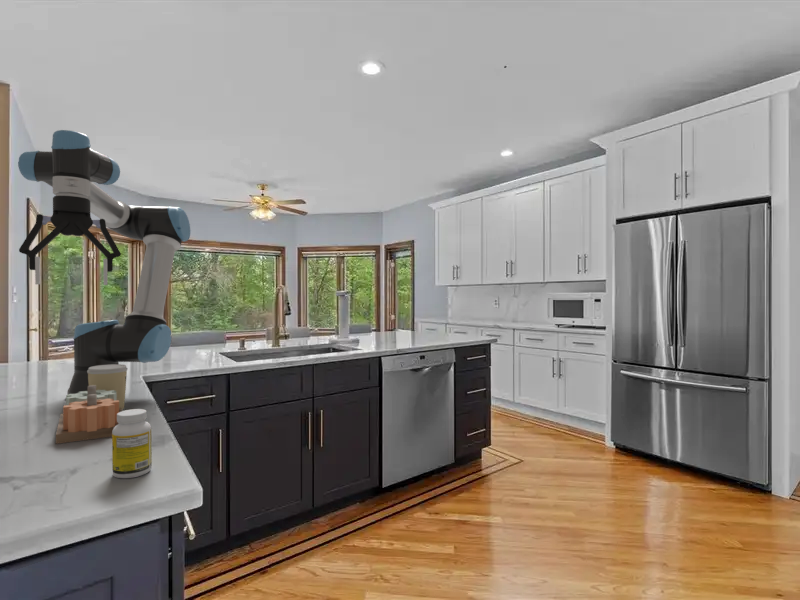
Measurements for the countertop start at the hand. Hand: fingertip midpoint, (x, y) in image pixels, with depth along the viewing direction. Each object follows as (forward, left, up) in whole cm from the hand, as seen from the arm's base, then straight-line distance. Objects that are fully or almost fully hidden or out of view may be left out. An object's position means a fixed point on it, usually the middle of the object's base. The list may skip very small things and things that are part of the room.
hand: (72, 284), depth 116 cm
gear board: (+1, +7, -34) cm, 35 cm away
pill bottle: (+20, +39, -34) cm, 56 cm away
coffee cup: (-13, -4, -34) cm, 37 cm away
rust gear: (+5, +12, -32) cm, 35 cm away
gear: (-3, +3, -32) cm, 32 cm away
